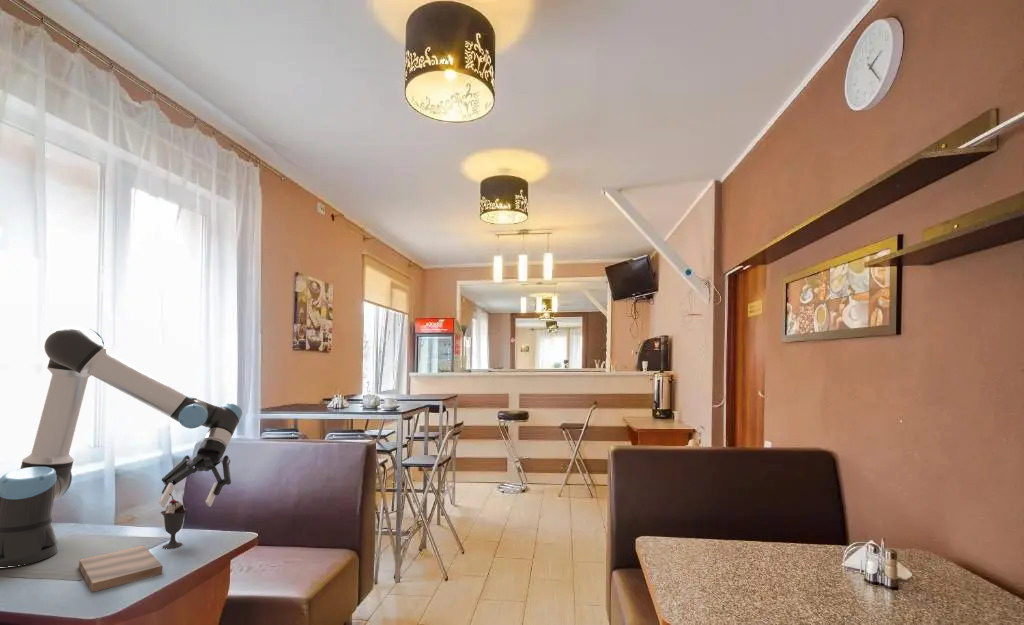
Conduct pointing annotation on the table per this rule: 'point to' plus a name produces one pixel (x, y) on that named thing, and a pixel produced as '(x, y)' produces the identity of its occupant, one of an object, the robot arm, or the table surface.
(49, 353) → the robot arm
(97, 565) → the brown flat wooden slab
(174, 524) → the sundae
